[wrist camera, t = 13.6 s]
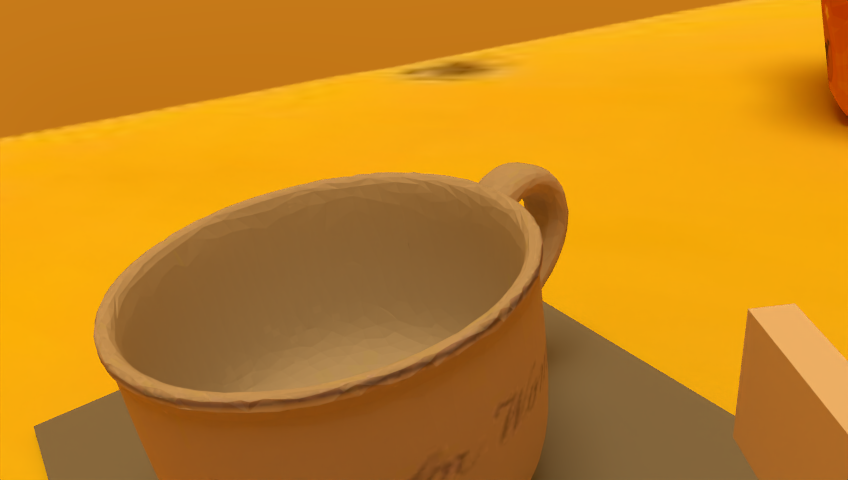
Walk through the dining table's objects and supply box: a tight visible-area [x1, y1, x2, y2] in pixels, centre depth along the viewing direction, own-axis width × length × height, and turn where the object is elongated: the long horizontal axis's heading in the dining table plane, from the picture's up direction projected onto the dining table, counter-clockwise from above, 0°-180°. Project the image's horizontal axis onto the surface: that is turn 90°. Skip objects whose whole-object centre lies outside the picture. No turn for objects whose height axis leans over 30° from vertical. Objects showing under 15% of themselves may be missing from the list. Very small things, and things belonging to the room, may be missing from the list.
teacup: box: [94, 162, 568, 480], centre depth 20 cm, size 14×11×8 cm
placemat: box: [34, 301, 758, 480], centre depth 22 cm, size 18×20×1 cm
